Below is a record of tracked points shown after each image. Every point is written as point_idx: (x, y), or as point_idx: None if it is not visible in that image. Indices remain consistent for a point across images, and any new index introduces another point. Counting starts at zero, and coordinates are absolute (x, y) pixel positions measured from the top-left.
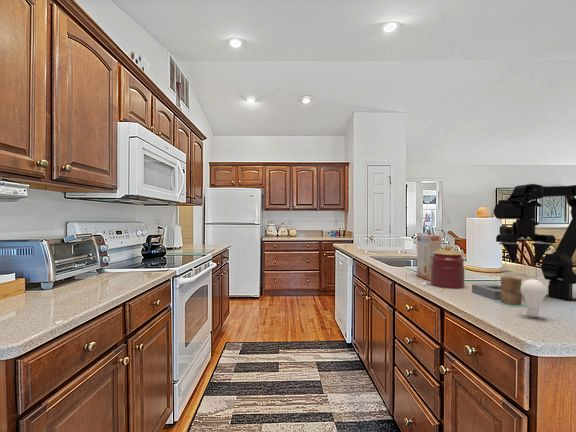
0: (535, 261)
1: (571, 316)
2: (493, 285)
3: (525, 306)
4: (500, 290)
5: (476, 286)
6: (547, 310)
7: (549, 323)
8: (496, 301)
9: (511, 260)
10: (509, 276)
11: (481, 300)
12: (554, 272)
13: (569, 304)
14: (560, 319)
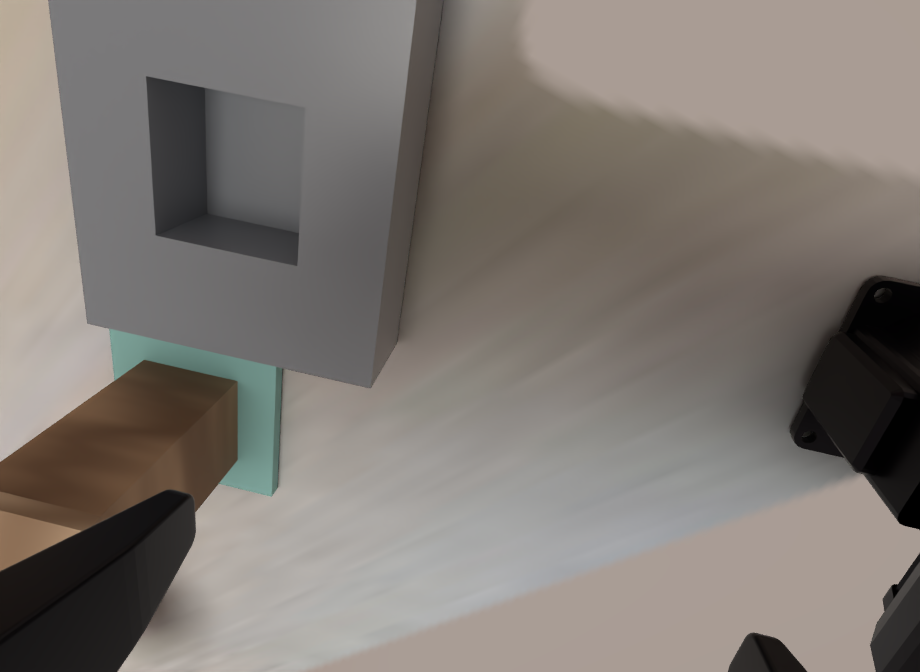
0: (751, 656)
1: (366, 649)
2: (303, 43)
3: (240, 487)
4: (173, 308)
5: (57, 11)
6: (347, 551)
7: (141, 659)
8: (119, 339)
9: (131, 520)
10: (47, 529)
11: (62, 224)
12: (886, 645)
13: (704, 519)
14: (251, 651)
